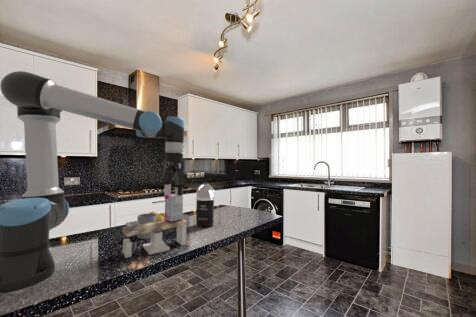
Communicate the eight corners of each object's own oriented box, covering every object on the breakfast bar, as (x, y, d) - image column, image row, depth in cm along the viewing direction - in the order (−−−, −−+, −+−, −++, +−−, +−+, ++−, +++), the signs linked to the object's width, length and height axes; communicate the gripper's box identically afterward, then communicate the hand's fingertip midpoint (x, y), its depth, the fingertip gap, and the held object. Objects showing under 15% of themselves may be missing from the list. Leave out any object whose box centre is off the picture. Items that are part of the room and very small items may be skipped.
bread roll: (169, 222, 133) (169, 208, 133) (175, 225, 125) (175, 211, 126) (147, 225, 126) (147, 211, 126) (151, 229, 118) (152, 214, 118)
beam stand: (126, 259, 80) (127, 237, 81) (121, 251, 88) (122, 230, 89) (187, 245, 95) (188, 226, 95) (179, 239, 103) (179, 221, 103)
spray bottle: (212, 228, 121) (213, 183, 122) (194, 228, 121) (194, 182, 122) (214, 223, 132) (215, 181, 132) (197, 223, 132) (198, 181, 132)
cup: (148, 239, 102) (149, 217, 103) (133, 238, 104) (133, 216, 104) (158, 233, 111) (159, 213, 111) (144, 232, 112) (144, 213, 113)
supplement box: (183, 220, 96) (183, 194, 96) (170, 223, 92) (170, 195, 92) (176, 218, 100) (176, 193, 101) (164, 220, 96) (164, 194, 96)
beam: (126, 239, 81) (126, 227, 81) (122, 233, 88) (122, 222, 88) (187, 226, 95) (187, 216, 95) (179, 222, 102) (179, 213, 102)
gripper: (194, 152, 89) (192, 204, 88) (172, 153, 109) (170, 196, 108) (176, 150, 85) (174, 206, 84) (157, 152, 105) (155, 197, 104)
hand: (172, 201), depth 96 cm, fingers open, 13 cm apart
